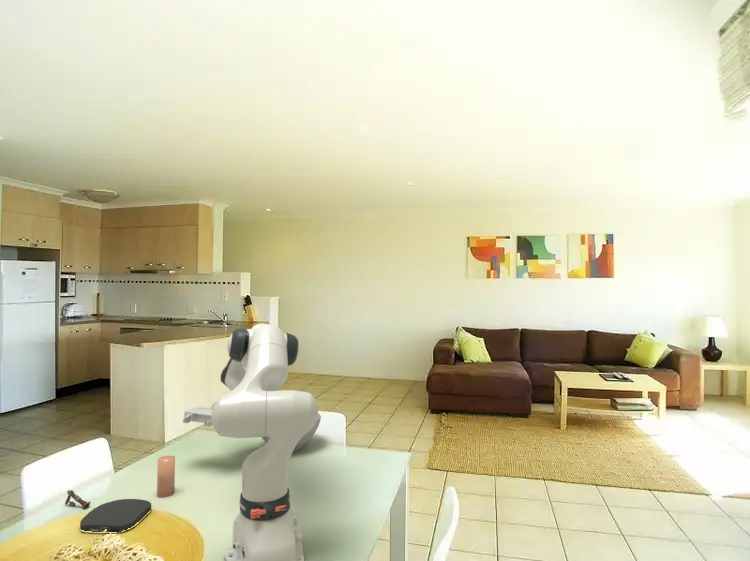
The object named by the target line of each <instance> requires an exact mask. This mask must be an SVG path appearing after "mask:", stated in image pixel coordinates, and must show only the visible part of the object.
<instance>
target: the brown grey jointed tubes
mask: <svg viewBox="0 0 750 561" xmlns="http://www.w3.org/2000/svg"><path fill="white" fill-rule="evenodd" d="M66 492H67V495H68V496H67V498H66V500H65V502H64V504H65V505H68V506H71V507H72V508H73V507H76V506H77V504H76V503H78V504H79V505H80V506H82V510H85V509H86V508H88V507H90V505H91V503H92V502H91V501H89V500H88V502H87V501H85V500H83V499H82V497H80V496H79V494H76V493H75V491H74V490H72V489H70V490H69V489H68V490H67V491H66ZM72 498H73V501H70V500H71V499H72ZM74 501H75V502H74Z"/></svg>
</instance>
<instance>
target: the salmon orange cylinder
mask: <svg viewBox="0 0 750 561" xmlns="http://www.w3.org/2000/svg"><path fill="white" fill-rule="evenodd" d="M156 468H157V470H156V472H157V473H156V477H157V478H156V481H157V482H156V497H157V498H168V497H171V496H173V495H174V494H175V488H176V486H175V483H176V482H175V481H176V478H175V477H176V474H175V473H176V456H175V455H165V456H164V455H163V456H160V457H159V458H157V467H156Z"/></svg>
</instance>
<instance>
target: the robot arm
mask: <svg viewBox="0 0 750 561" xmlns="http://www.w3.org/2000/svg"><path fill="white" fill-rule="evenodd" d="M226 346H227V353H228V356H229V360H228V361H227V363H226V366H225V367H224V368H223V369H222V371H221V372H220V382H221V383H222V384H223V385H224V386H226V388H228V389H229V390H230V391H229V392H228V393H225V394H224V395H221V397H220V398H218V399H217V400H216V401H215V402H214V403H213V404H212V405H211V407H208V406H195V407H191V408H187V409H185V410H184V413H183V418H182V423H184V424H189V423H191V422H193V423H201V424H204V426H205V427H211V426H212V427H213V429H214V431H215V432H216V434H217V435H218V436H220V437H225V438H232V439H251V438H252V439H253V438H262V437H269V438H270V439H269V441H268V442H267V443H266V442H265V443H266V444H264V445H263V446H261V447H259V448H257V449H255V450H254V451H253V452H251V453H250V454H249V455H248V456H247V457H246V458H245V460H244V462H243V463H242V470H241V471H242V473H241V474H242V475H241V476H242V478H241V481H242V483H241V486H242V487H241V492H240V496H239V513H238V515H237V516H236V517H235V518H234V519H233V521H232V536H231V537H232V538H231V541H232V542H231V548H230V549H228V550H227V551H225V552H224V555H223V556H224V557H223V558H224V559H223V560H224V561H305V556H304V547H303V539H302V538H303V534H302V531H297V530H295V526H298V518H297V519H296V518H294V508H293V507H291V495H290V489H289V469H290V461H291V458H292V454H293V452H294V451H293V450H294V448H295V446H296V445H297V443H298V442H299V440H300V439H301V438H302V437H303V436H304V435H305V434H306V433H308V432H309V431H310V430H311V429H312V428H313V427H314V425H315V423H316V421H317V418H318V414H319V406H318V402H317V400H316V399H315V397H314V396H313V395H312V393H310V392H307V391H301V390H300V391H299V390H294V389H284V390H279V389H281V388H282V387H283V385H284V384H285V383H286V381H287V380H288V376H289V367H290V366H292V365H293V364H295V362H296V361H297V359H298V356H299V354H300V343H299V339H298V338H297V336H296V335H294V334H291V333H289V332H285V333H284V332H283V330H282V329H281V328H280V326H277V325H274V324H271V323H270V324H268V323H265V322H264V323H263V322H262V323H257V324H255V325H253V326H252V327H251V328H246V327H241V328H236V329H234V330H233V331H232V332H231V334H230V335H229V338H228V339H227V345H226Z"/></svg>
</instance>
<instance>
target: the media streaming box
mask: <svg viewBox="0 0 750 561" xmlns="http://www.w3.org/2000/svg"><path fill="white" fill-rule="evenodd" d="M150 510H151V511H152V503H151V501H149V500H145V499H140V498H121V499H116V500H111V501H107V502H105V503H102V504H99V506H96V507H95V508H93V509H92V510H91V511H89V512H88V513H87V514H85V516H84V517H83V518H82V519H81V520H80V522H79V526H80V527H79V530H80V529H81V530H84V531H92V532H103V531H104V530H105V529H107V531H106V532H117V533H119V532H121V531H123V530H127V529H128V528H131V527H132V526H134V525H135V524H136V523H137V522H139V521H140V520H141V519H142V518H143V517H144V516H145V515H146V514H147V513H148V512H149V511H150ZM119 534H120V533H119Z"/></svg>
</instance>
